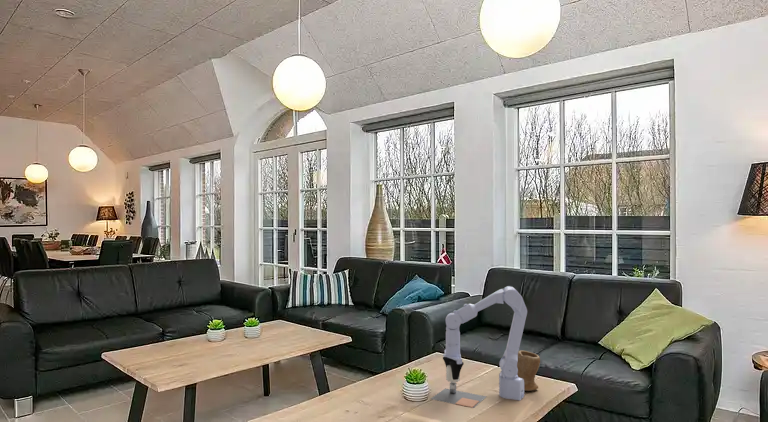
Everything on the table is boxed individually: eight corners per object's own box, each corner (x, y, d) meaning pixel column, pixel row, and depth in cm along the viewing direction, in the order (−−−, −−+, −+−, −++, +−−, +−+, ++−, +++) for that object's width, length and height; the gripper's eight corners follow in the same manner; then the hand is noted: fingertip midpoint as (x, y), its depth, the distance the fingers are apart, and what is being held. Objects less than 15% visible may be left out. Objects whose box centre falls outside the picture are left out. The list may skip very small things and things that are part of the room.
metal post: (457, 392, 206) (457, 382, 206) (454, 394, 204) (454, 384, 204) (451, 391, 207) (451, 381, 207) (448, 393, 205) (448, 383, 205)
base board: (486, 399, 202) (486, 396, 202) (473, 411, 190) (473, 408, 190) (445, 391, 211) (445, 388, 211) (430, 401, 199) (430, 398, 199)
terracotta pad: (479, 401, 196) (479, 401, 196) (472, 407, 190) (472, 406, 190) (462, 398, 200) (462, 397, 200) (455, 404, 194) (455, 403, 194)
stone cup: (546, 390, 212) (546, 354, 212) (521, 394, 208) (521, 357, 208) (524, 379, 226) (524, 345, 226) (501, 382, 222) (501, 348, 222)
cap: (461, 381, 204) (461, 367, 204) (449, 382, 203) (449, 368, 203) (456, 377, 209) (456, 363, 209) (444, 378, 208) (444, 364, 208)
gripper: (437, 339, 212) (437, 372, 212) (450, 348, 198) (450, 383, 198) (453, 338, 214) (453, 371, 213) (467, 347, 199) (467, 382, 199)
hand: (453, 377), depth 206 cm, fingers closed on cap, 5 cm apart
